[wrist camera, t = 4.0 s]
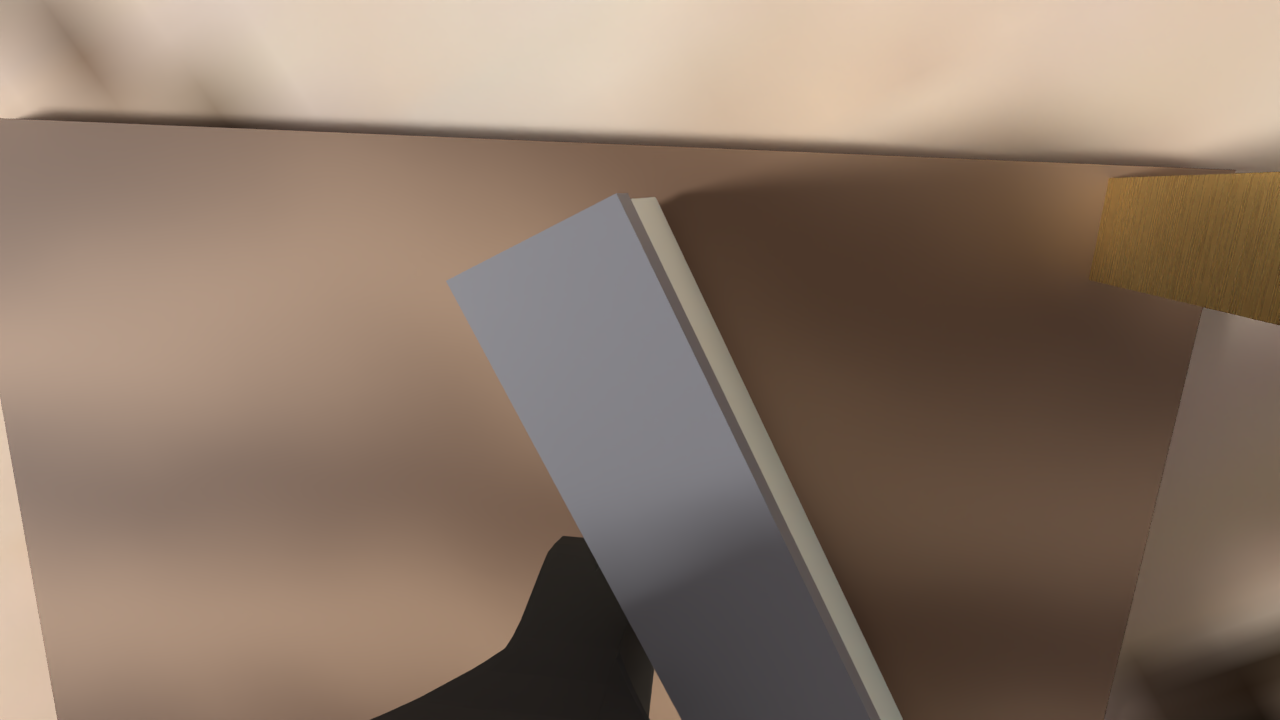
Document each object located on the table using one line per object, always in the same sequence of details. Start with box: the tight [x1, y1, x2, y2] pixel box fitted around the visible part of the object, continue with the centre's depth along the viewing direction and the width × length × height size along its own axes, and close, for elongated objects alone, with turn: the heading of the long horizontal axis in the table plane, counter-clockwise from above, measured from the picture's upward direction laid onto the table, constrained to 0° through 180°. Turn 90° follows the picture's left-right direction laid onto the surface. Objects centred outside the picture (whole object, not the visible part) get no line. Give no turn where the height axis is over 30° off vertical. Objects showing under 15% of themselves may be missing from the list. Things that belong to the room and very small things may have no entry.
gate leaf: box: [446, 193, 903, 720], centre depth 10 cm, size 12×2×5 cm, turn 26°
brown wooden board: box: [0, 118, 1235, 720], centre depth 11 cm, size 15×22×8 cm
